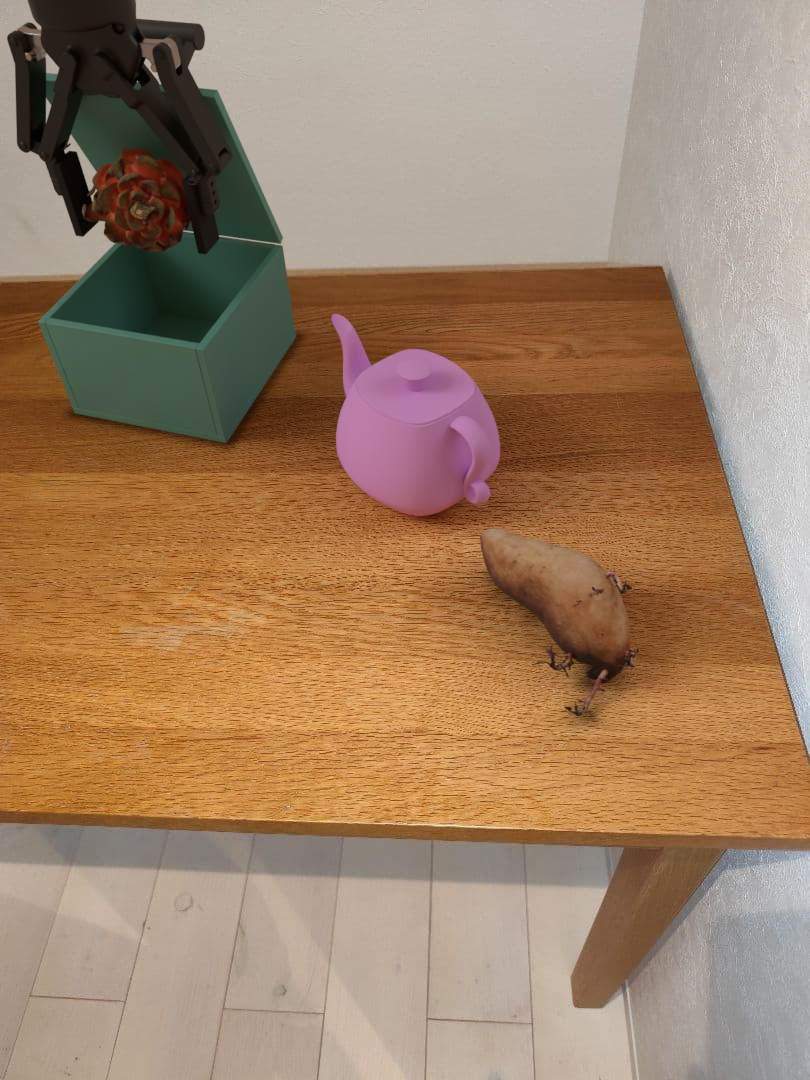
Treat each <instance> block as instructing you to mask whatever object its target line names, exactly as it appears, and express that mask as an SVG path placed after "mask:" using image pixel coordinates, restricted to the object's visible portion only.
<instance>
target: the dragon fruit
mask: <svg viewBox="0 0 810 1080" xmlns="http://www.w3.org/2000/svg"><path fill="white" fill-rule="evenodd" d="M183 179H184V176H183V173H182V171H181V170H180V169H179V168H178V167H177V166H176V165H175V164H174V163H173V162H172V161H170V160H168V159H167V158H162V159H160V160H154V158H153V156H152V155H151V154H150V153H149V152H147V151H146V150H143V149H138V148H124V149H123V150H122V152H121V154H120V158H119V160H117V161H116V162H114V163H113V164H106V165H102V166H101V167H100V169H99V170H98V172H96V173H95V174H94V175H93V177H92V180H91V182H92V185H93V186H92V188H91V189H90V190H89V192H88V194H87V196H88V197H89V196H91V197H92V196H93V198H92V203H91V204H90V206H89V207H87V205H86V204H84V205H83V207H82V213H83V217H84V219H86V220H87V221H89V222H96V221H99V222H103V223H104V229H103V235H104V236H105V237H106V238H107V239H108V241H110V242H111V243H113V244H115V243H118V244H122V245H125V246H126V247H128V246H132V245H134V246H136V247H137V248H140V249H141V250H144V251H148V252H155V251H157V252H159V251H161V252H163V251H166V250H167V249H168V248H171V247H173V246H176V245H177V244H178V243H179V242H181V239H182V236H183V231H184V232H187V231H186V230H187V229H188V226H189V225H190V221H191V220H190V215H189V211H188V207H187V202H186V198H185V194H184V189H183V185H182V180H183ZM185 227H186V229H185V230H183V229H184V228H185Z"/></svg>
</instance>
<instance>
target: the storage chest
mask: <svg viewBox="0 0 810 1080" xmlns="http://www.w3.org/2000/svg"><path fill="white" fill-rule="evenodd" d="M283 246H284V245H281V244H276V243H270V242H263V241H256V240H249V239H242V238H235V237H228V236H219V240H218V241H217V242H216V243H215V245H214V246H213V247H212V248H211V249H210V251H209V252H208V253H207V254H199V253H198V250H197V246H196V241H195V237H194V233H193V232H192V231H185V230H183V236H182V239H181V242H179V243H178V244H177V245H176V246H173V247H171V248H168V249H167V250H166V251H163V252H161V251H159V252H157V251H155V252H148V251H144V250H141V249H140V248H137V247H136V246H134V245H132V246H128V247H126V246H125V245H122V244H118V243H113V245H112V246H111V247H110V248H109V249H108V250H107V251H105V252H104V254H103V255H102V256H101V257H100V258H99V259H98V260H97V261H96V262H94V264H93V265H92V266H91V267H90V268H89V269H88V270H87V271H86V272H85V273H84V274H83V275H82V276H81V277H80V278H79V279H78V280H77V281H76V282H75V283H74V284H73V285H72V286H71V287H70V288H69V289H68V290H67V291H66V293H64V295H62V296H61V297H60V298H59V300H57V301H56V302H55V303H54V305H52V307H50V309H48V310H47V312H45V313H44V315H43V316H41V317H40V319H38V321H37V323H38V326H39V328H40V330H41V333H42V335H43V338H44V340H45V342H46V345H47V348H48V350H49V352H50V353H49V354H50V355H51V357H52V359H53V362H54V365H55V368H56V369H57V372H58V374H59V377H60V379H61V383H62V385H63V388H64V389H65V393H66V395H67V397H68V400H69V403H70V405H71V407H72V410H73V412H74V414H76V415H80V416H86V417H92V418H96V419H102V420H105V421H111V422H115V423H122V424H127V425H132V426H137V427H142V428H146V429H152V430H157V431H162V432H166V433H167V432H168V433H173V434H177V435H183V436H188V437H192V438H198V439H202V440H209V441H214V442H218V443H223V444H227V443H228V442H229V440H230V439H231V438H232V436H233V434H234V433H235V431H236V429H237V428H238V426H239V425H240V424H241V422H242V420H243V419H244V417H245V416H246V415H247V413H248V411H249V410H250V408H251V407H252V405H253V404H254V402H255V400H256V399H257V398H258V397H259V395H260V393H261V392H262V390H263V389H264V387H265V386H266V384H267V382H268V381H269V379H270V378H271V376H272V375H273V373H274V372H275V370H276V369H277V367H278V365H279V364H280V363H281V361H282V359H283V358H284V356H285V355H286V353H287V351H288V350H289V349H290V348H291V346H292V345H293V343H294V341H295V340H296V338H297V332H296V327H295V320H294V312H293V307H292V306H293V305H292V299H291V293H290V285H289V279H288V273H287V267H286V259H285V254H284V247H283Z"/></svg>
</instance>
